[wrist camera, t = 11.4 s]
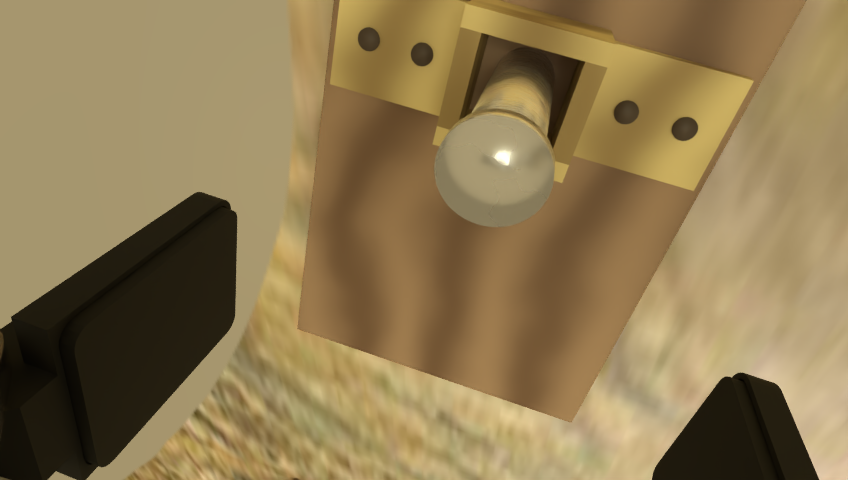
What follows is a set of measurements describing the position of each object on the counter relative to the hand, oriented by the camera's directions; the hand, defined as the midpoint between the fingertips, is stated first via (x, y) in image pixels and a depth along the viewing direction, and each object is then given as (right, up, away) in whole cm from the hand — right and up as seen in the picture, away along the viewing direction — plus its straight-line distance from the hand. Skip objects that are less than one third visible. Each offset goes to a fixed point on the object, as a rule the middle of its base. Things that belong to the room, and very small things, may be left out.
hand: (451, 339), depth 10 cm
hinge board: (+3, +4, +24) cm, 24 cm away
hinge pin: (+5, +10, +18) cm, 22 cm away
